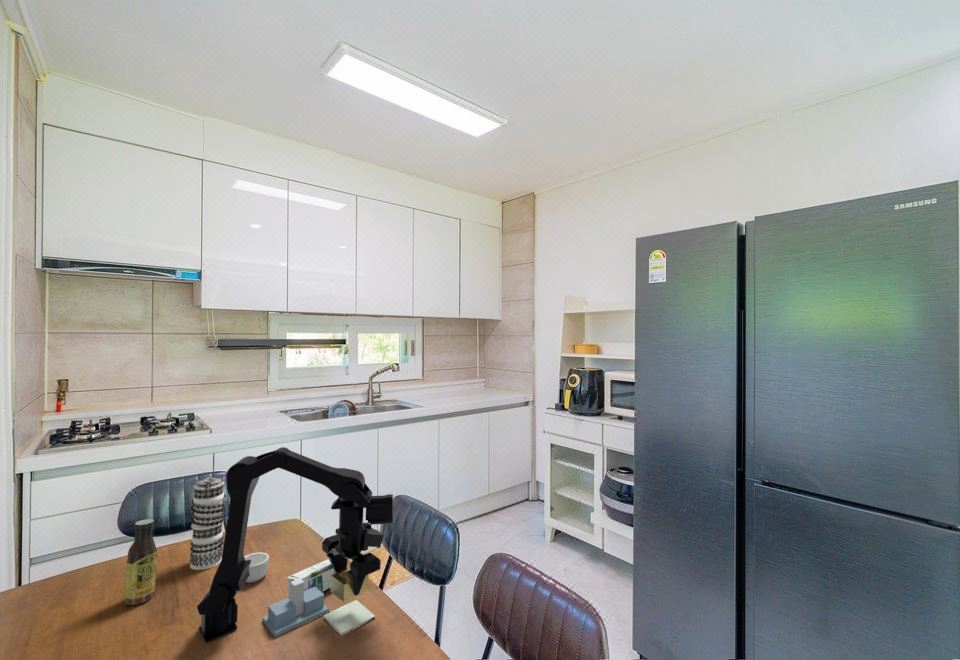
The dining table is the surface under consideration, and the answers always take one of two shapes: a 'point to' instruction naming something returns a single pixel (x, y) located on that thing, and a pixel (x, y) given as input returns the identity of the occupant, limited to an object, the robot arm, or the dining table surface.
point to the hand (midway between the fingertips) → (349, 588)
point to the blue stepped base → (295, 609)
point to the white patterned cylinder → (207, 523)
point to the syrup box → (314, 576)
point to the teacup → (257, 566)
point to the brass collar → (345, 585)
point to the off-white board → (348, 617)
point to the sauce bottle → (141, 565)
